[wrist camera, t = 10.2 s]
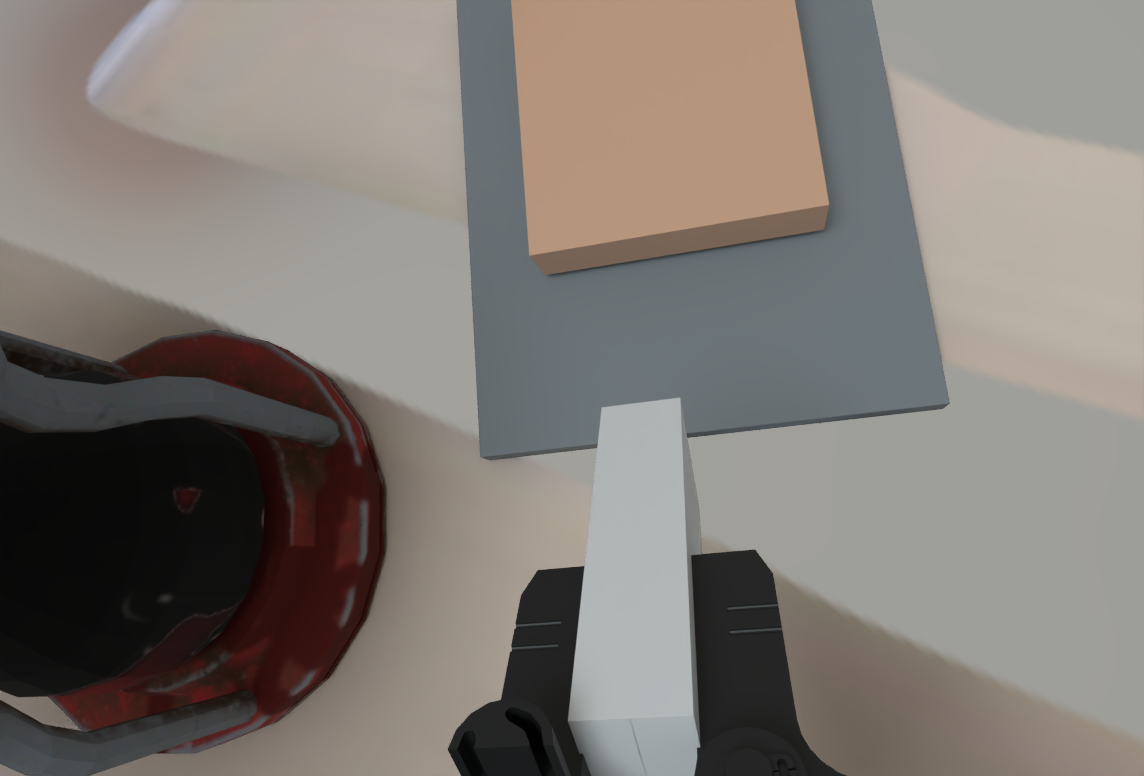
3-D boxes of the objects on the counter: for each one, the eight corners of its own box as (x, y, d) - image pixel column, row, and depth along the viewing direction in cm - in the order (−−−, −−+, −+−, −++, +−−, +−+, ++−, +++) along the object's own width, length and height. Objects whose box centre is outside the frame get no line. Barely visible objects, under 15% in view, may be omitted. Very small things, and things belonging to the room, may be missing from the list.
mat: (942, 408, 26) (949, 403, 25) (489, 459, 29) (480, 456, 28) (847, -88, 30) (850, -109, 29) (464, 5, 34) (455, -11, 33)
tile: (829, 204, 25) (776, -106, 27) (529, 255, 27) (508, -38, 29) (823, 234, 27) (775, -55, 30) (547, 279, 29) (526, 4, 32)
